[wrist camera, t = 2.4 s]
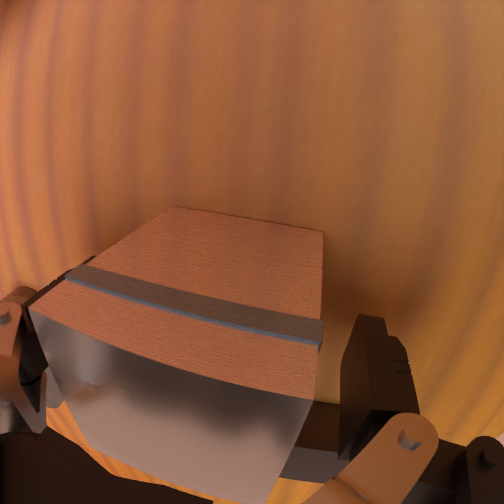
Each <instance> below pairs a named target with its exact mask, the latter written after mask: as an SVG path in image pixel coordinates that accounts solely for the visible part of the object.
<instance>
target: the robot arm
mask: <svg viewBox="0 0 504 504" xmlns="http://www.w3.org/2000/svg"><path fill="white" fill-rule="evenodd" d="M95 257H97V256H92V257H90V258H89V259H87V260H86V261H84V262H83V264H87V263H88V262H90V261H91V260H92V259H94V258H95ZM73 269H74V268H73ZM73 269H71V270H73ZM71 270H68V271H66V272H65V273H63V274H62V275H61V276H59V277H58V278H57V280H56V279H55V280H54V281H52V282H51V283H50V284H49V286H48V285H47V286H46V287H44V288H43V289H41V290H40V291H39V292H37V293H36V294H35V295H33V296H32V297H31V298H30V299H28V300H27V301H26V302H24V303H23V304H22V305H20V306H19V305H18V304H17V303H14V302H4V303H0V504H213V501H212V500H208V499H205V498H201V497H198V496H195V495H191V494H188V493H185V492H182V491H179V490H176V489H174V488H171V487H168V486H165V485H160V484H153V483H147V482H142V481H136V480H131V479H126V478H122V477H118V476H114V475H112V474H111V473H109V472H108V471H107V470H106V469H105V468H103V467H102V466H101V465H100V464H99V463H98V462H96V461H95V460H94V459H93V458H92V457H91V456H90V455H89V454H88V453H87V452H85V451H84V450H83V449H82V448H81V447H80V446H79V445H77V444H76V443H74V442H72V441H71V440H69V439H67V438H66V437H64V436H62V435H61V434H59V433H57V432H56V431H54V430H53V429H51V428H50V427H48V426H47V424H46V387H47V375H46V372H45V369H46V368H47V367H48V366H49V364H48V362H47V360H46V357H45V355H44V352H43V350H42V347H41V344H40V342H39V339H38V336H37V333H36V331H35V328H34V325H33V322H32V319H31V316H30V313H29V309H28V307H29V306H31V305H32V304H33V303H34V302H36V301H37V300H38V299H40V298H41V297H42V296H43V295H45V294H46V293H47V292H49V291H50V290H51V289H53V288H54V287H55V286H57V285H58V284H59V283H61V282H62V281H63V280H65V276H64V275H66V274H67V273H69V272H70V271H71ZM408 362H409V361H408V357H407V353H406V349H405V347H404V346H403V345H402V343H401V342H400V341H399V340H398V338H397V337H395V336H389V335H388V333H387V329H386V324H385V320H384V318H382V317H376V316H370V315H364V314H359V315H358V317H357V319H356V322H355V325H354V327H353V330H352V333H351V336H350V338H349V341H348V344H347V346H346V349H345V352H344V355H343V358H342V363H341V370H340V420H339V442H338V459H337V460H347V461H350V463H349V464H348V465H347V466H346V467H345V468H344V469H343V470H342V471H341V472H340V473H339V474H338V475H337V476H335V477H333V478H331V479H330V480H329V481H328V482H326V483H325V484H324V485H323V486H322V487H321V488H319V489H318V490H317V491H316V492H315V493H314V494H313V495H311V496H310V497H309V498H308V499H307V500H305V501H304V502H303V503H302V504H504V447H503V445H502V444H501V443H500V442H499V441H497V440H496V439H494V438H492V437H489V436H480V437H477V438H475V439H474V440H473V441H471V442H470V444H469V445H468V446H467V447H465V446H461V445H458V444H454V443H451V442H448V441H444V440H442V439H439V438H438V434H437V431H436V429H435V427H434V426H433V424H432V423H431V422H430V421H429V420H427V419H426V418H424V417H423V416H421V415H420V411H419V406H418V401H417V396H416V391H415V387H414V382H413V378H412V375H411V369H410V365H409V364H408Z"/></svg>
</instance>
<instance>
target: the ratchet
mask: <svg viewBox="0 0 504 504" xmlns="http://www.w3.org/2000/svg"><path fill="white" fill-rule="evenodd" d="M36 293H37V292H36V291H34V290H33V289H30V288H28V287H19V288H17V289H15V290H14V291H12V292H11V293H10V294H8V295H7V296H6V297H4V298H3V299H1V300H0V303H4V302H14V303H17V304H18V305H19V306H20V305H22V304H23V303H24V302H26V301H27V300H28V299H30V298H31V297H32V296H33V295H35V294H36ZM45 372H46V375H47V387H46V406H47V407H50V408H58V407H59V406H60V405H61V403H62V402H63V401H64V398H63V396H62V394H61V391H60V389H59V387H58V385H57V383H56V381H55V378H54V376H53V374H52V372H51V369H50V367H49V366H48V367H47V368H46V369H45ZM339 420H340V405H332V404H326V403H319V402H313V403H312V405H311V408H310V410H309V412H308V415H307V417H306V419H305V422H304V424H303V426H302V429H301V431H300V433H299V435H298V438H297V440H296V442H295V444H294V446H293V448H292V451H291V453H290V455H289V457H288V459H287V461H286V463H285V465H284V467H283V469H282V471H281V473H280V475H279V477H281V478H287V479H293V480H300V481H307V482H316V483H326V482H328V481H329V480H330V479H331V478H333V477H335V476H337V475H338V474H339V473H340V472H341V471H342V470H343V469H344V468H345V467H346V466H347V465H348V464H349V463H350V461H347V460H337V459H338V442H339Z"/></svg>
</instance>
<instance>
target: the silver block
mask: <svg viewBox="0 0 504 504" xmlns="http://www.w3.org/2000/svg"><path fill="white" fill-rule="evenodd" d="M322 264H323V232H320V231H315V230H309V229H304V228H299V227H293V226H288V225H282V224H277V223H271V222H265V221H260V220H254V219H248V218H243V217H237V216H231V215H225V214H219V213H213V212H206V211H200V210H194V209H188V208H181V207H175V206H173V207H172V208H170V209H168V210H167V211H165V212H163V213H162V214H160V215H159V216H157V217H155V218H154V219H152V220H151V221H149V222H148V223H146V224H145V225H143V226H141V227H140V228H138V229H137V230H135V231H134V232H132V233H131V234H129V235H128V236H126V237H125V238H123V239H122V240H120V241H119V242H117V243H116V244H114V245H113V246H111V247H110V248H108V249H107V250H105V251H104V252H103V253H101V254H100V255H98V256H97V257H95V258H94V259H92V260H91V261H90V262H88V263H87V264H83V263H81V264H80V265H79V266H77V267H76V268H74V269H73V270H71V271H70V272H69V273H67V274H66V275H64V276H65V280H63V281H62V282H61V283H59V284H58V285H57V286H55V287H54V288H53V289H51V290H50V291H49V292H47V293H46V294H45V295H43V296H42V297H41V298H40V299H38V300H37V301H36V302H34V303H33V304H32V305H31V306H29V307H28V309H29V313H30V316H31V319H32V322H33V325H34V328H35V331H36V333H37V336H38V339H39V342H40V344H41V347H42V350H43V352H44V355H45V357H46V360H47V362H48V364H49V367H50V369H51V372H52V374H53V376H54V378H55V381H56V383H57V385H58V387H59V389H60V391H61V394H62V396H63V398H64V400H65V402H66V404H67V406H68V408H69V410H70V412H71V413H72V415H73V417H74V419H75V421H76V423H77V425H78V426H79V428H80V430H81V432H82V434H83V435H84V437H85V439H86V440H87V442H88V444H89V445H90V447H92V448H94V449H96V450H98V451H100V452H102V453H104V454H106V455H108V456H110V457H112V458H114V459H116V460H118V461H120V462H122V463H124V464H127V465H129V466H131V467H133V468H136V469H138V470H140V471H143V472H145V473H148V474H150V475H153V476H155V477H158V478H160V479H163V480H166V481H168V482H171V483H174V484H177V485H180V486H183V487H186V488H189V489H192V490H195V491H198V492H202V493H205V494H209V495H212V496H216V497H220V498H223V499H227V500H231V501H236V502H240V503H244V504H265V502H266V500H267V498H268V497H269V495H270V493H271V491H272V489H273V487H274V485H275V483H276V481H277V479H278V477H279V475H280V473H281V471H282V469H283V467H284V465H285V463H286V461H287V459H288V457H289V455H290V453H291V451H292V448H293V446H294V444H295V442H296V440H297V438H298V435H299V433H300V431H301V429H302V426H303V424H304V422H305V419H306V417H307V415H308V412H309V410H310V408H311V405H312V403H313V400H314V391H315V381H316V370H317V358H318V354H319V351H320V348H321V344H322V338H323V320H320V313H321V292H322Z"/></svg>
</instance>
